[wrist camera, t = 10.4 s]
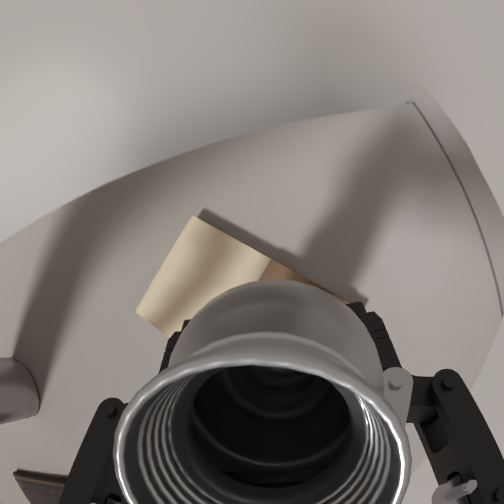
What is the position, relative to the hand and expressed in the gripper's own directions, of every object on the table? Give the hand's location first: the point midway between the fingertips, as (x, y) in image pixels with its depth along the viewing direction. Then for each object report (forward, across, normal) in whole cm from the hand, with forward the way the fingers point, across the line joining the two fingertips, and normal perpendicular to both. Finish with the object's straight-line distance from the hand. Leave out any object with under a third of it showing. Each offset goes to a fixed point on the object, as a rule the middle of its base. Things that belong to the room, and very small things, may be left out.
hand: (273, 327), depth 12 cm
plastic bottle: (+6, 0, +9) cm, 11 cm away
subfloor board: (+12, +3, +10) cm, 16 cm away
